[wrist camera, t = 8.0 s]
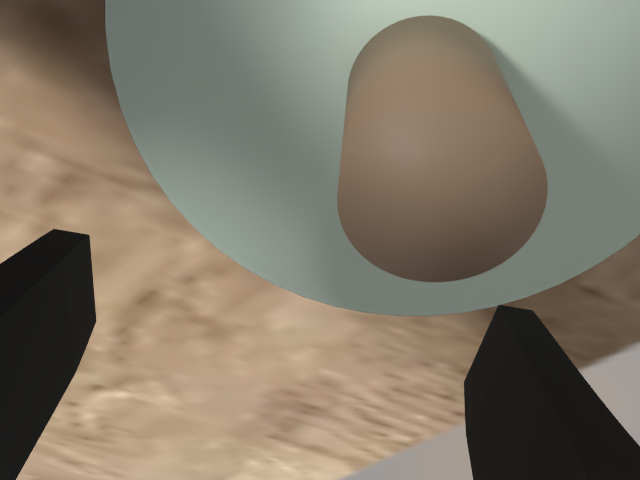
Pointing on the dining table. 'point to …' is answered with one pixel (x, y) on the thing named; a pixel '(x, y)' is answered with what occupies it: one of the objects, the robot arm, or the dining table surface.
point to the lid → (391, 139)
